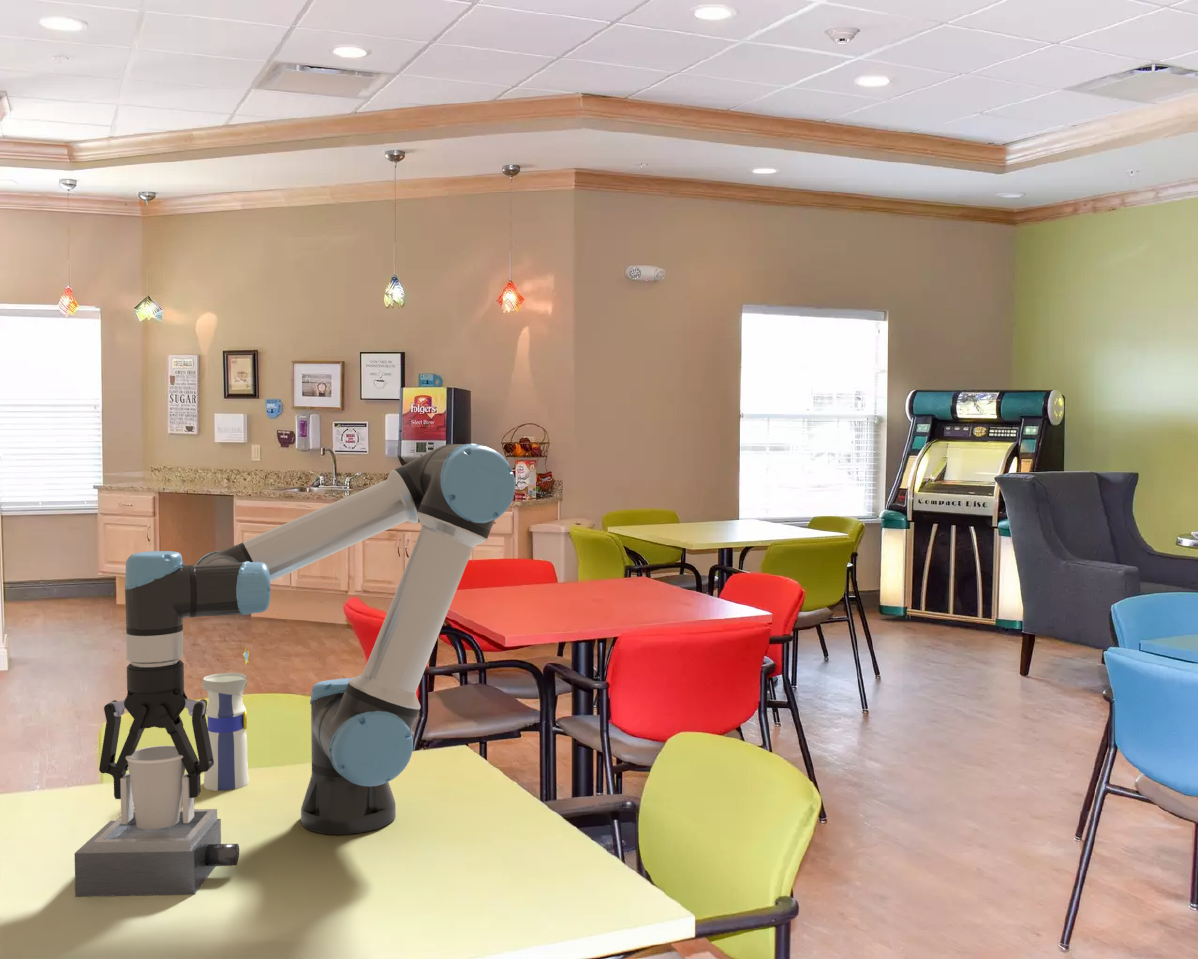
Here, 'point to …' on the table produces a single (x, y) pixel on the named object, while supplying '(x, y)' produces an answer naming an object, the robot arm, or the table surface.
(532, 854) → the table surface
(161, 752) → the dixie cup
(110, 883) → the block
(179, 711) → the robot arm
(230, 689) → the white blue vase
